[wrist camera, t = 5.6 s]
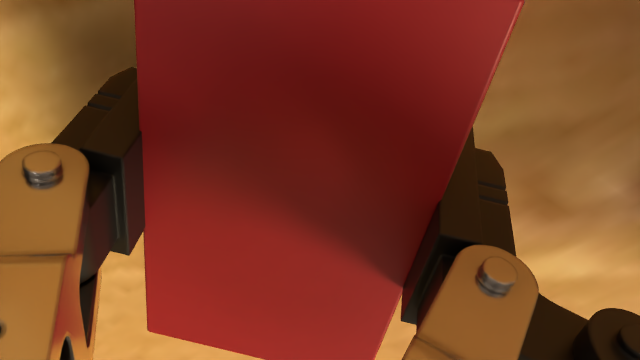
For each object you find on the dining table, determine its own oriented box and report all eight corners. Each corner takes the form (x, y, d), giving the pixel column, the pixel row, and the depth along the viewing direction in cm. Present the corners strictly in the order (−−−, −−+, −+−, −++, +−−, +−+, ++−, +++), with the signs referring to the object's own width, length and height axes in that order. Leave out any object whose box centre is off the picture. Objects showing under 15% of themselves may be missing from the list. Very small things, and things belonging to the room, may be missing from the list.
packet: (216, -225, 9) (123, -200, 6) (528, -154, 9) (568, -97, 6) (195, 252, 16) (147, 359, 13) (368, 293, 16) (354, 409, 13)
